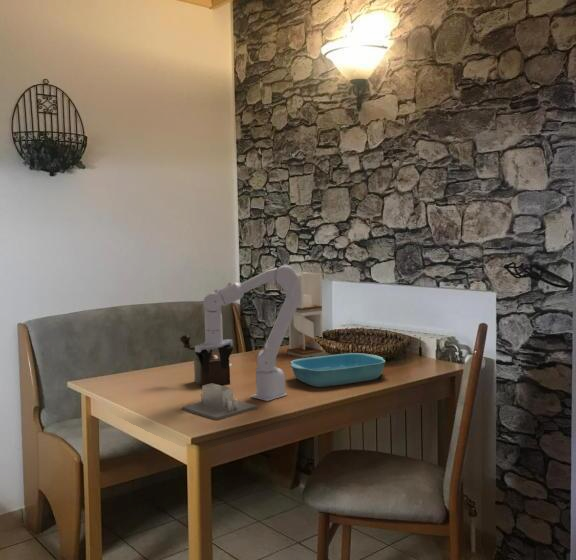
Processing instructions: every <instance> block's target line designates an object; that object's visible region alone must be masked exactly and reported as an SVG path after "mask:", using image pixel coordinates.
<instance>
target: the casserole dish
mask: <svg viewBox="0 0 576 560" xmlns="http://www.w3.org/2000/svg"><path fill="white" fill-rule="evenodd" d="M385 364H386V360H385V358H384V357H382V356H379V355H375V354H369V353H361V352H360V353H359V352H350V353H349V352H347V353H340V354H339V353H338V354H337V353H336V354H330V355H319V356H312V357H306V358H298V359H293V360H291V361H290V367H291V368H292V372H293V375H294V377H295V378H296V379H297V380H299V381H300V382H302V383H304V384H306V385H310V386H311V387H315V388H323V387H335V386H339V385H340V386H342V385H348V384H354V383H355V384H356V383H362V382H367V381H373V380H377V379H378V378H379V377H380V376H381V375H382V374H383V370H384V367H385Z"/></svg>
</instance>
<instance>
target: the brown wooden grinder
mask: <svg viewBox="0 0 576 560" xmlns="http://www.w3.org/2000/svg"><path fill="white" fill-rule="evenodd" d="M179 337H180V338H179V341H180V343H181V344H182V345H183V349H187V350H190V351H195V346H194V347H191V343H190V340H191V336H190V335H189V334H182V335H181V336H179ZM207 351H208V352H209V353H211V355H210V360H209V373H204V372H203V369H202V366H201V363H200V360H199V358H198V357H197V356H193V364H194V366H193V367H194V370H193V371H194V378H193V379H194V380H193V381H194V383H196V385H198V386H199V387H201V388H202V386H203V385H207V384H211V383H213V384H217V385H221V386H226V385H231V370H230V369H231V367H230V366H229V364H230V359H229V360H228V364H227V368H226V369H224V368H221V363H220V354H219V352H218V353H217V352H215V351H213V349H210V350H207Z"/></svg>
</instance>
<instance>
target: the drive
mask: <svg viewBox="0 0 576 560" xmlns="http://www.w3.org/2000/svg"><path fill="white" fill-rule="evenodd" d="M201 389H202V393H201V394H202V396H203V405H207V406H210V407H214V408H217V409H220V410H226V409H228V401H232V408H233V399H234V388H232V387H229V386H226V385H217V384H213V383H211V384H207V385H203V386H202V387H201Z"/></svg>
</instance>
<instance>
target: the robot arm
mask: <svg viewBox="0 0 576 560" xmlns="http://www.w3.org/2000/svg"><path fill="white" fill-rule="evenodd" d="M296 273H297V272H296V271H295V270H294V268H293V267H292V266H291V265H289V264H281V265H280V266H279V267H273V268H271V269H267V270H265V271H263V272H261V273H259V274H257V275H255V276H253V277H251V278H249V279H247V280H245V281H243V282H241V283H240V282H238V281H234V282H232V281H230V282H228V283H227V285H225V286H223V287H221V288H219V289H218V288H215V289H214V290H213V291H214V292H209V293H207V295H206V296H205V297H204V298H203V307H204V337H205V338H204V340H205V341H204V342H203V343H200V344H197V345H194V347H195V350H194V352H195V356H196V357H198V358H199V360H200V363H201V366H202V369H203V372H204V373H209V360H210V355H211V353H209V352H210V349H212V350H215V349H217V350H218V354H220V363H221V368H224V369H226V368H227V364H228V360H229V361H230V358H231V357H230V356H231V354H232V352H233V351H234V346H233V345H234V342H233V341H234V340H233V339H230V338H229V339H223V338H224V335H223V334H224V333H223V332H224V331H223V314H222V306H224V307H225V306H228V305H230V304H232V303H234V302H236V301H239V300H241V299H242V298H243V297H244V294H245V293H247V292H249V291H252V290H253V289H255V288H258V287H260V286H262V285H265V284H273V285H275V284H276V282H277V284H278V285H279V286H280V287H281V288H282V289H283V292H284V295H285V299H284V301H283V303H282V306H281V308H280V310H279V313H278V315H277V317H276V320H275V322H274V324H273V327H272V328H271V330H270V331H271V332H270V333H269V336H268V338H267V340H266V341H265V343H264V346H263V347H262V348H261V349H260V350H259V351H258V352H257V357H256V366H257V368H255V385H256V386H255V390H256V392H255V393H254V394H252V395H250V397H251V398H254V399H258V400H261V401H266V402H269V401H272V400H276V399H278V398H281V397H286V396H288V393H286V376H285V373H284V371H283V370H282V368H279V367H277V366H276V365H277V356H278V353H279V350H280V347H281V345H282V342H283V341H284V338H285V335H286V333H287V331H288V330H289V325H290V322H291V320H292V318H293V315H294V313H295V311H296V309H297V306H298V304H299V302H300V299H301V291H300V286H299V281H298V277H297V275H296ZM207 350H209V352H208V351H207Z"/></svg>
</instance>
